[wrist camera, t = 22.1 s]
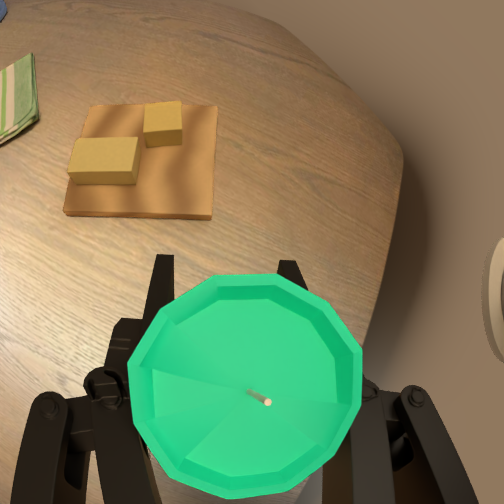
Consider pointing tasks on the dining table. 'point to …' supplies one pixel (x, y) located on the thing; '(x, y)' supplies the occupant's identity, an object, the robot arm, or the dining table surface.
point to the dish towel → (17, 97)
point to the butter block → (105, 161)
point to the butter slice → (163, 124)
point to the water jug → (2, 9)
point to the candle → (245, 385)
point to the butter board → (152, 168)
